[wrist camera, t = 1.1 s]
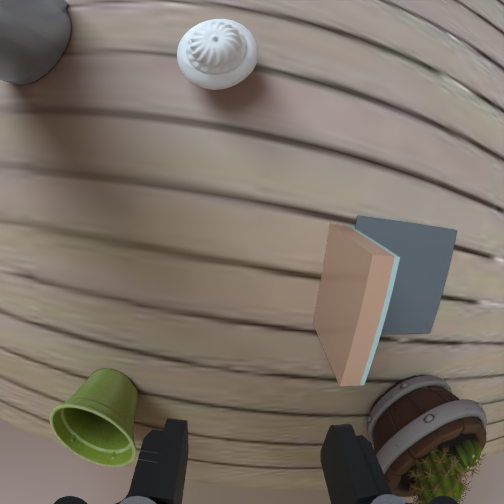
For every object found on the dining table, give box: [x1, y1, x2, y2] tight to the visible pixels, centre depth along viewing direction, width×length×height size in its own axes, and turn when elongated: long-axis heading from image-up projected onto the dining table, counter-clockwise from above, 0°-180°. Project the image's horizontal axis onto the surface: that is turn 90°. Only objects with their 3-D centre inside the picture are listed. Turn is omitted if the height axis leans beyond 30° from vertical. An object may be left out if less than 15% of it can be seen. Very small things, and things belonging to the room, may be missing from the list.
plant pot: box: [50, 369, 138, 467], centre depth 28 cm, size 9×9×9 cm
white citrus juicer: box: [177, 19, 258, 90], centre depth 21 cm, size 6×6×7 cm
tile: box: [313, 223, 400, 386], centre depth 25 cm, size 10×2×10 cm, turn 174°
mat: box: [355, 216, 457, 334], centre depth 30 cm, size 12×12×1 cm
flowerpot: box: [367, 375, 487, 504], centre depth 26 cm, size 14×15×20 cm
